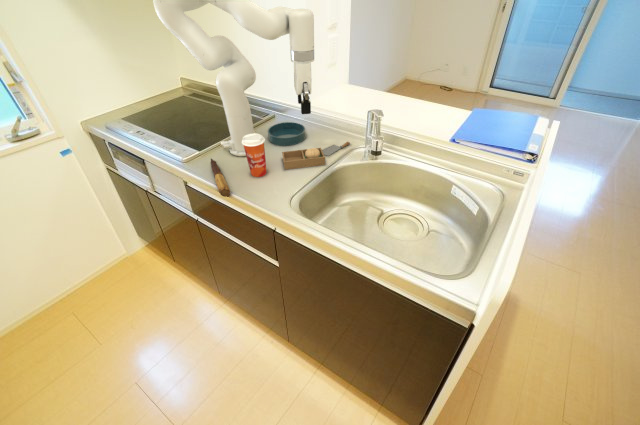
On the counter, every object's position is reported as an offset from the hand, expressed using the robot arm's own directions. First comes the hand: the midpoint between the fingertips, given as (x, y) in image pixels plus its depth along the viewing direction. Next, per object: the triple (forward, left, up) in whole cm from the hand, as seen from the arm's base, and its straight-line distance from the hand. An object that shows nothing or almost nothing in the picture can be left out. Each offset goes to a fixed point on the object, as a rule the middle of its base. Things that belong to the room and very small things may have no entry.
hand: (304, 108), depth 111 cm
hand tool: (-28, -19, -15) cm, 37 cm away
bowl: (-6, +19, -19) cm, 28 cm away
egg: (+2, -4, -18) cm, 19 cm away
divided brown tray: (-2, -4, -19) cm, 20 cm away
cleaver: (+12, +4, -20) cm, 23 cm away
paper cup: (-19, -8, -20) cm, 28 cm away
